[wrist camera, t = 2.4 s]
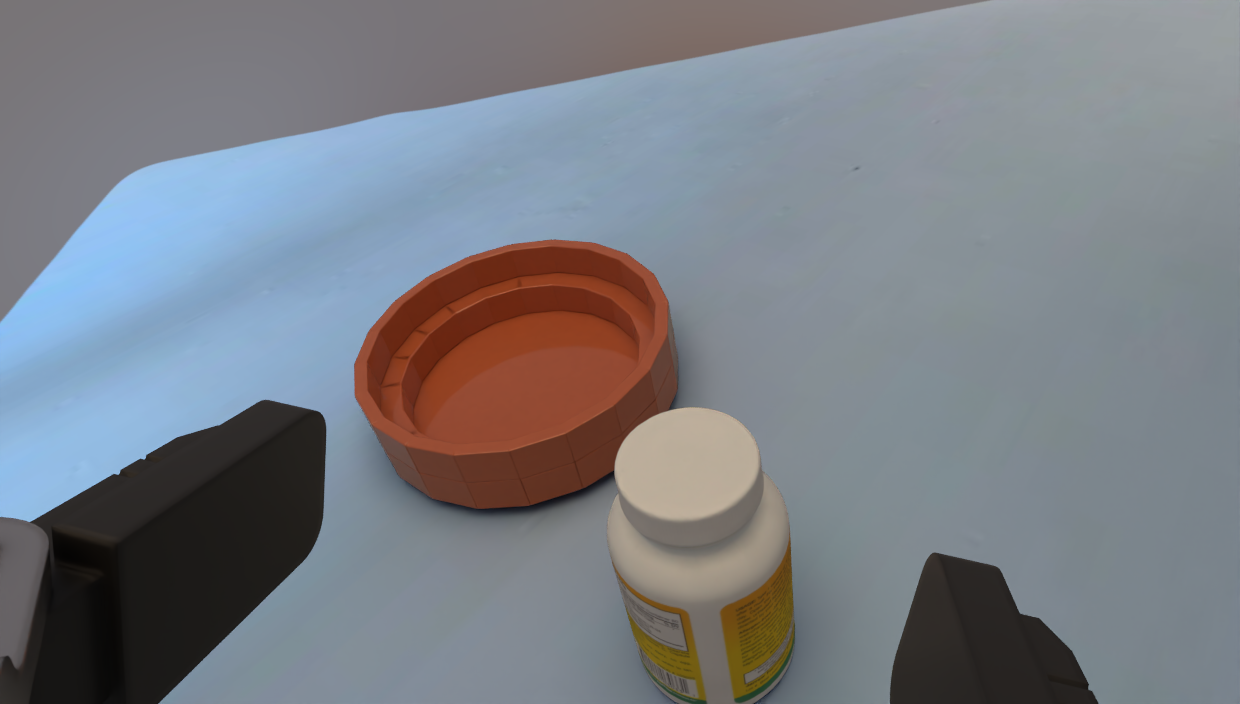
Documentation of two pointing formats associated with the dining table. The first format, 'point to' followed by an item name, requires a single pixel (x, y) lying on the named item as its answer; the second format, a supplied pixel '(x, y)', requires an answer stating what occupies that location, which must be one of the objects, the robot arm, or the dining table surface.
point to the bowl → (518, 372)
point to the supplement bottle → (703, 558)
